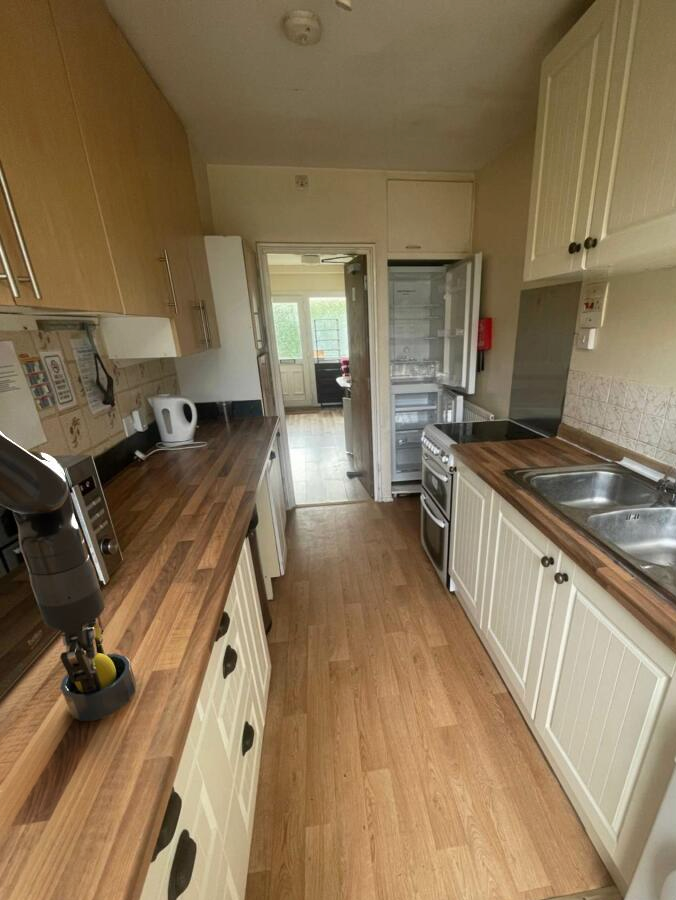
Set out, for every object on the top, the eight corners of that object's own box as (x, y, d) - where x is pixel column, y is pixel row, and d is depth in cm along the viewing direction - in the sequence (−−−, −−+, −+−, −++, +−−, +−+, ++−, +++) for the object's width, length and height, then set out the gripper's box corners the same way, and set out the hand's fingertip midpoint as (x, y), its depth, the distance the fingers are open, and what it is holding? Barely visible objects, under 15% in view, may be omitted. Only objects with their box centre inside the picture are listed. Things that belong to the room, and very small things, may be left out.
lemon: (72, 704, 68) (58, 665, 65) (100, 678, 73) (88, 641, 70) (103, 709, 67) (90, 670, 64) (128, 683, 72) (118, 646, 69)
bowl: (56, 724, 66) (46, 698, 64) (91, 678, 75) (83, 654, 73) (118, 722, 67) (110, 696, 65) (146, 677, 76) (140, 653, 73)
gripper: (90, 610, 58) (118, 703, 64) (104, 561, 70) (126, 643, 76) (21, 624, 55) (58, 719, 61) (48, 570, 67) (77, 654, 73)
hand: (96, 677), depth 69 cm, fingers closed on lemon, 5 cm apart
